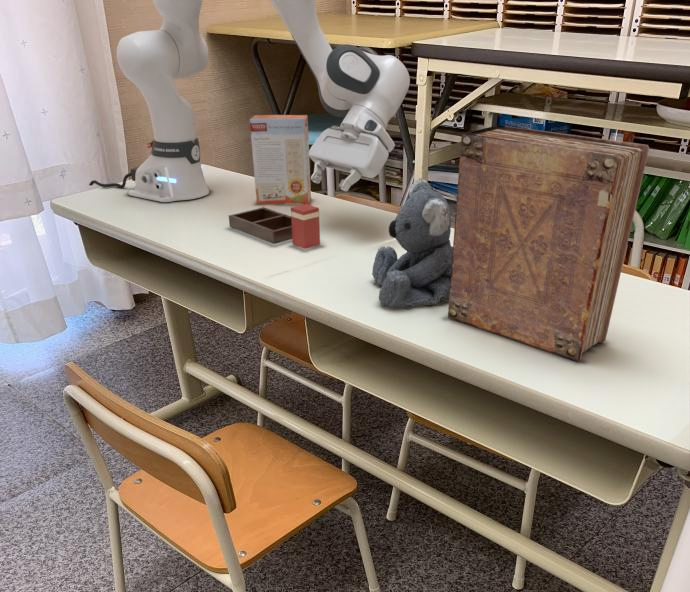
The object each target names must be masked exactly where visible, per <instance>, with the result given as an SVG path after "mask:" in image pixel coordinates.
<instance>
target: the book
mask: <svg viewBox="0 0 690 592" xmlns="http://www.w3.org/2000/svg"><path fill="white" fill-rule="evenodd" d="M649 151H650V147H649V145H648V144H644V143H643V144H642V143H636V142H629V141H620V140H613V139H606V138H598V137H590V136H583V135H577V134H569V133H560V132H554V131H553V132H552V131H547V130H546V131H545V130H538V129H531V128H522V127H517V126H516V127H515V126H508V125H501V124H496V125H494V126H493V125H492V126H488V127H485V128H480V129H477V130H473V131H469V132H465V133H463V134H461V137H460V151H459V162H458V163H459V165H458V176H457V191H456V205H455V217H454V228H453V241H452V243H453V244H452V247H453V255H452V268H451V281H450V295H449V298H448V308H447V309H448V310H447V318H448V319H451V320H454V321H456V322H459V323H462V324H464V325H468V326H471V327H474V328H476V329H480V330H483V331H486V332H489V333H490V334H491V333H492V334H494V335H497V336H500V337H503V338H506V339H509V340H511V341H514V342H518V343H520V344H524V345H525V346H529V347H532V348H536V349H538V350H540V351H544V352H546V353H550V354H553V355H555V356H559V357H561V358H565V359H567V360H570V361H573V362H576V363H579V362H580V361H581V360H582V357H583V353H585V352H586V351H588V350H589V349H590V348H592V347H594V345H596V344H603V343H605V342H606V340H607V335H608V331H609V326H610V322H611V318H612V313H613V309H614V305H615V300H616V296H617V292H618V287H619V283H620V279H621V274H622V269H623V264H624V261H625V256H626V253H627V249H628V244H629V240H630V234H631V230H632V227H633V221H634V217H635V213H636V209H637V203H638V199H639V195H640V192H641V186H642V181H643V177H644V173H645V168H646V164H647V160H648V156H649Z"/></svg>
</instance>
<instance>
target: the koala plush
mask: <svg viewBox="0 0 690 592" xmlns="http://www.w3.org/2000/svg"><path fill="white" fill-rule="evenodd" d="M410 184H411V185H410V188H409V190H408V199H406V201H405V202H404V204H403V205H402V206H401V207H400V209H399V211H398V213H397V215H396V217H395V219H393V220H392V221H391V222H389V225H388V234H389V236H390V237H391V238H393V239H395V240H396V241H397V243H398V244H399V246H400V247H401V248H402V249H403V250H405V251H406V252H405V253H404V254H402V255H401V256H400V257H399V258H398V254H397V252H396V249H395V248H393V247H391V246H387V247H386V246H381V247H379V248H378V249H377V251H376V254H375V256H374V262H373V265H372V272H371V275H372V278H373V280H374V281H375V282H377V285H380V286H381V288H380V289H379V293H378V301H379V302H380V305H382V306H384V307H389V308H399V309H400V308H411V307H416V306H435V305H436V304H438V303H439V302H440V301H446V300H449V295H450V281H451V268H452V255H453V245H451V240H450V237H451V232H452V214H451V207H450V204H449V203H448V201H447V199H445V197H444V195H442V194H441V193H439V192H438V191H436V190H433V188H432V186H431V185H430V183H429V182H428V181H427V180H425V179H423V177H421V178H418V180H414V181H413V183H410Z"/></svg>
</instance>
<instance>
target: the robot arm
mask: <svg viewBox="0 0 690 592" xmlns="http://www.w3.org/2000/svg"><path fill="white" fill-rule="evenodd" d="M269 2H270V3H271V5H272V6H273V8H274V9H275V10H276V12H277V14H278V16H279V17H280V19H281V20H282V23H284V25H285V26H286V28H287V30H288V31H289V33H290V35H291V37H292V39H293V40H294V43H295V44H296V46H297V49H299V52H300V54H301V55H302V57H303V59H304V60H305V62H306V64H307V66H308V68H309V70H310V72H311V73H312V75H313V77H314V79H315V82H316V84H317V89H318V96H319V100H320V103H321V105H322V107H323V109H324V110H325V111H326V112H327V113H329V114H330V115H332V116H334V117H337V118H343V119H342V122H341V123H340V124H339V126H338V125H336V124H335V125H332V126H330V127H327V128H326V129H325V130H323V131H322V132H321V133H320V135H319V136H317V138H316V140H315V141H314V142H313V144H312V145H311V147H309V159H310V160H311V161H312V162H313V163H314V165H313V167H314V168H313V173H312V174H311V175H310V181H312V182H313V183H315V184H320V183H321V181H322V180H323V176H322V172H323V171H325V170H326V168H329V169H333V170H337V171H340V172H344V173H348V174H349V175H348V176H347V177H346V178H345V179H340V183H338V188H339V190H341V191H343V192H348V191H349V190H350V188H351V186H353V185H354V184H356V183H357V182H358V181H360V179H361V178H362V177H363V178H364V177H365V178H368V179H374V178H375V177H377V176H378V175H379V174H380V172H381V171H382V169H383V167H384V166H385V164H386V163H387V160H388V158H389V154H390V153H391V152H392V151H393V150H394V148H395V146H396V144H395V142H394V140H393V139H392V138H391V136H390V135H389V133H388V132H387V131H386V130H387V128H388V124H389V122H390V120H391V119H392V118H393V117H394V116H395V115H396V114H397V112H398V111H399V109H400V107H401V105H402V103H403V101H404V99H405V97H406V95H407V94H408V90H409V88H410V82H411V79H410V78H411V77H410V74H409V71H408V69H407V67H406V65H405V64H404V63H403V62H402V61H401V60H400V59H399V58H398V57H396V56H395V55H392V54H385V55H378V54H374V53H373V54H372V53H370V52H366V51H364V50H362V49H360V47H358V46H356V45H354V44H347V43H346V44H340V45H338V46H336V47H335V48H334V49H333V48H332V47H331V45H330V42H329V41H328V39H327V37H326V35H325V34H324V31H323V29H322V28H321V24H320V21H319V18H318V13H317V5H316V0H269ZM152 3H153V6H154V8H155V11H157V13H158V15H160V16H161V17H162V24H161V26H160V27H159V29H153V30H144V31H143V30H141V31H135V32H133V33H130V34H128V35H125V36H123V37H122V38H121V39H120V40H119V41H118V43H117V47H116V61H117V64H118V67H119V69H120V71H121V73H122V75H124V76H125V78H126V79H128V80H129V81H130V82H132V83H133V84H134V85H135V86H136V88H137V89H138V90H139V91H140V93H141V95H142V96H143V99H144V101H145V103H146V105H147V108H148V111H149V112H148V113H149V116H150V117H149V118H150V121H151V127H152V132H153V138H154V139H153V140H152V141H151V142H147V143H146V145H148V146H147V147H146V148H147V149H150V148H151V151H150V155H149V156H148V157H147V158H146V159H145V161H144V162H142V164H140V165H139V166H136V167H134V168H131V169H130V172H129V173H126V175H124V176H123V179H122V184H120V183H116V182H113V183H101V182H99V181H98V180H95V179H94V180H91V181H90V182H89V184H88V186H90V187H91V186H93V185H94V184H95V185H97V186H99V187H101V188H113V187H118V188H120V189H123V188H125V186H126V184H127V179H129V178H130V177H131V181H132V182H135V183H134V184H135V186H133V187H131V188H130V189H129V190H128V196H131V197H136V198H140V199H146V200H149V201H155V202H159V203H171V202H176V201H188V200H194V199H199V198H204V197H206V196H207V195H209V193H210V190H209V188H208V185H207V181H206V179H205V175H204V172H203V165H202V163H201V149H200V147H201V146H200V141H199V137H197V129H196V122H195V121H196V120H195V115H194V108H193V106H192V104H191V103H190V101H188V100H187V99H186V98H184V97H182V96H181V94H180V93H179V91H178V90H177V87H176V85H175V80H179V79H187V78H191V77H193V76H195V75H198V74H199V73H201V72H203V71H205V69H206V68H207V66H208V63H209V48H208V45H207V43H206V40H205V38H204V37H203V36H202V34H201V32H200V25H199V23H200V22H199V21H200V14H201V9H202V6H203V5H202V4H203V0H152Z"/></svg>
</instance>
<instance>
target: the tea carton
mask: <svg viewBox="0 0 690 592" xmlns="http://www.w3.org/2000/svg"><path fill="white" fill-rule="evenodd" d="M290 216H291V221H292V239H291V240H292V245H294V246H296V247H299V248H302V249H309V248H313V247H316V246H319V245H321V228H320V227H321V225H320V207H317V206H314V205H311V204H301V205H296V206H292V207H290Z"/></svg>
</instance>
